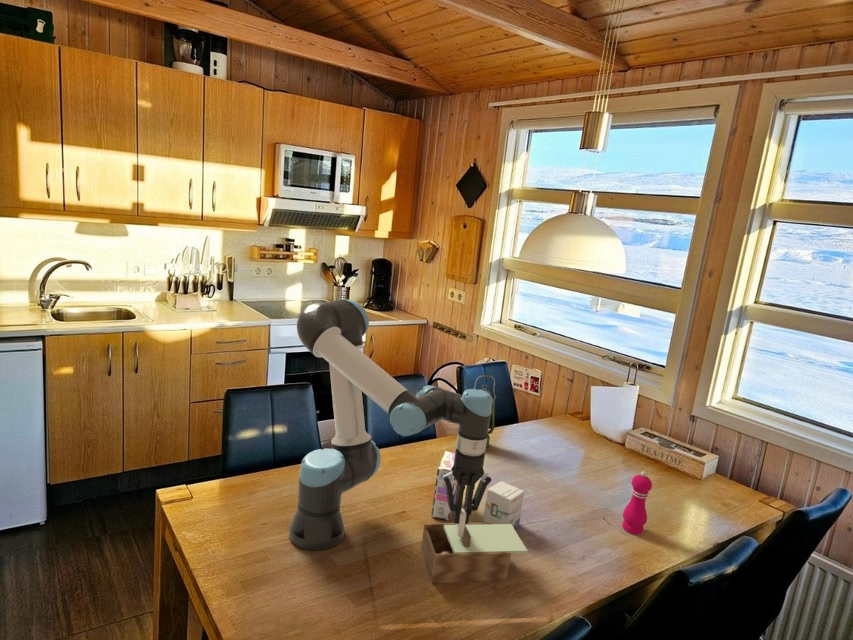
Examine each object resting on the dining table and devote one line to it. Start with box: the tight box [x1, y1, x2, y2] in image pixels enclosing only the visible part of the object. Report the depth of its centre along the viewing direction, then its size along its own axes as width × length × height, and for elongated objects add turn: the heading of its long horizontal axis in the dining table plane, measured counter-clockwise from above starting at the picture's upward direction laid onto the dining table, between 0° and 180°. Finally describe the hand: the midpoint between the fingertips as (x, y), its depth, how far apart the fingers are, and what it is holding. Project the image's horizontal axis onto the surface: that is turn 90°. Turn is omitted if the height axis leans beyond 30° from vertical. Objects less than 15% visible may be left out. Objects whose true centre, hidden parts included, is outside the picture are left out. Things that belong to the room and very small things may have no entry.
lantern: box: [473, 374, 497, 452], centre depth 226 cm, size 14×11×30 cm
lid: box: [443, 524, 528, 555], centre depth 150 cm, size 20×12×4 cm, turn 102°
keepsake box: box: [420, 522, 512, 584], centre depth 150 cm, size 20×14×9 cm
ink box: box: [482, 480, 525, 529], centre depth 172 cm, size 8×8×12 cm
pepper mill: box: [621, 470, 653, 535], centre depth 177 cm, size 7×7×20 cm
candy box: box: [431, 450, 457, 522], centre depth 177 cm, size 14×6×16 cm, turn 168°
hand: (459, 533), depth 148 cm, fingers closed
